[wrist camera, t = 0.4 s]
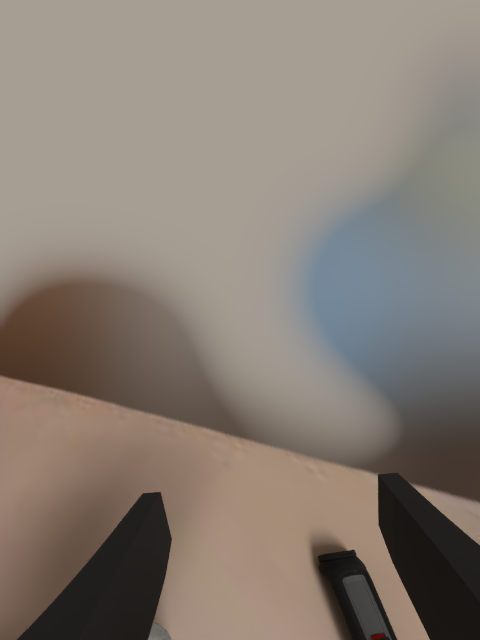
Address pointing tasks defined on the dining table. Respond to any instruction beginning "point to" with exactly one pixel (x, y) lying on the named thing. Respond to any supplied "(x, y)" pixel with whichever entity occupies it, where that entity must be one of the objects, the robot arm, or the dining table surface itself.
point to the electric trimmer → (357, 596)
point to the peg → (158, 633)
